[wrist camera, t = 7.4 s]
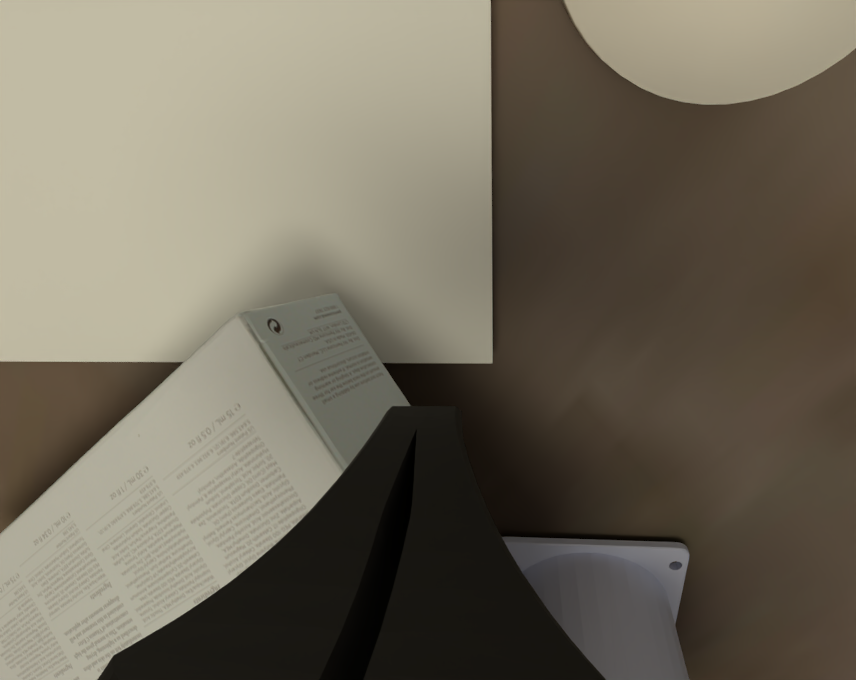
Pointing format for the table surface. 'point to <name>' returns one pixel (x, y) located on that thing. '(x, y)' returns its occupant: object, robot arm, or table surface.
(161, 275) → the white tray
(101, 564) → the grey printed book
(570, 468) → the table surface
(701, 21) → the cream round disc
